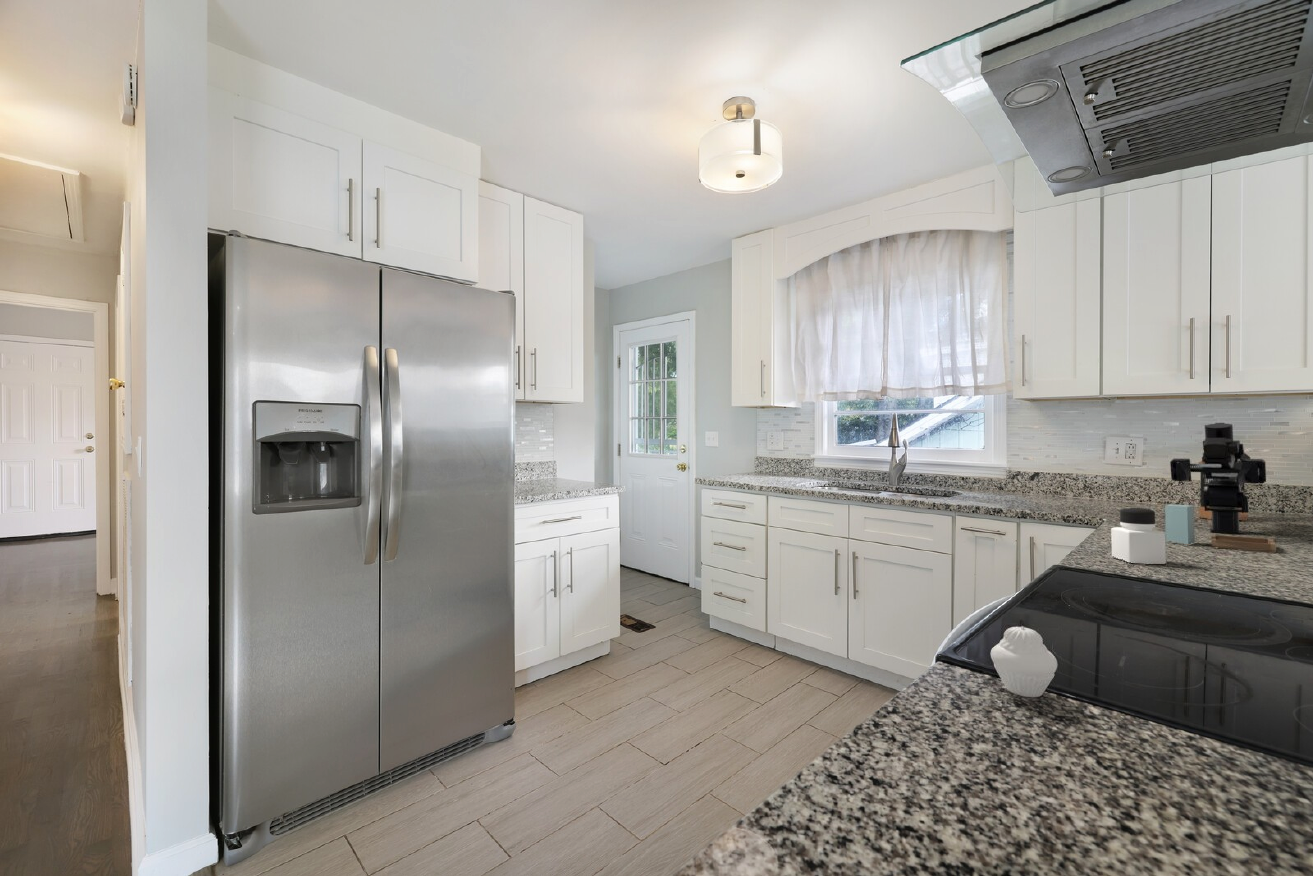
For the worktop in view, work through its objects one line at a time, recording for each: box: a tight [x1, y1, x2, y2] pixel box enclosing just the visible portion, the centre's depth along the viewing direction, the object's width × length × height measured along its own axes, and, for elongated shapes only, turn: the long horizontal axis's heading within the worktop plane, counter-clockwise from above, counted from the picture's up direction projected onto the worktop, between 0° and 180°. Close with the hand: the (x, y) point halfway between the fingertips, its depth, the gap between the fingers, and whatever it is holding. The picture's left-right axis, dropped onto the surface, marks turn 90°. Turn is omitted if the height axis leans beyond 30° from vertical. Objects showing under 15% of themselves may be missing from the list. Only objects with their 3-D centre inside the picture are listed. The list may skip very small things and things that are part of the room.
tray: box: [1210, 534, 1277, 554], centre depth 146 cm, size 11×11×2 cm
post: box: [1164, 504, 1195, 544], centre depth 152 cm, size 4×4×10 cm
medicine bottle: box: [1110, 507, 1167, 564], centre depth 130 cm, size 7×7×12 cm
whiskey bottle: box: [1198, 460, 1249, 521], centre depth 199 cm, size 10×10×32 cm
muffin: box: [990, 625, 1058, 698], centre depth 62 cm, size 6×6×7 cm
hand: (1212, 479), depth 154 cm, fingers open, 9 cm apart
